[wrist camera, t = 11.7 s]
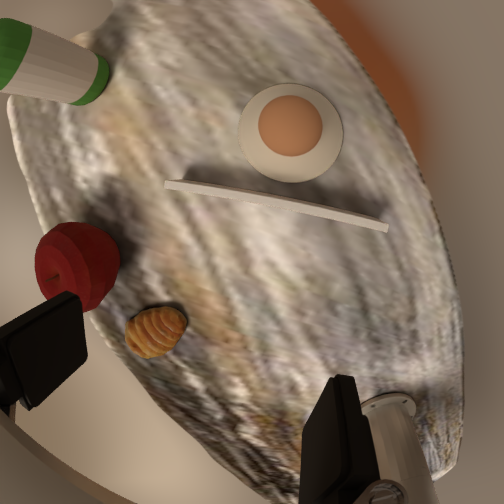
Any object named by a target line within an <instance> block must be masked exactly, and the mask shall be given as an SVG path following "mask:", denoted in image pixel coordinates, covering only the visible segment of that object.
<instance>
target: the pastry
mask: <svg viewBox="0 0 504 504" xmlns="http://www.w3.org/2000/svg"><path fill="white" fill-rule="evenodd" d="M186 324H187V320H186V318H185V317H184V316H183V314H182V313H181V312H180V311H178V310H177V309H175V308H173V307H167V306H164V307H160V308H153V309H148V310H145V311H141V312H140V313H139V314H138V315H137V316H135V317H134V318H133V319H131V320H129V321H127V322H126V324H125V340H126V342H127V344H128V346H129V347H130V349H131V350H132V351H133V352H134V353H136V354H138V355H139V356H140V357H143V358H147V359H149V358H151V357H155V356H161V355H164V354H165V353H166V352H168V351H170V350H171V349H172V348H173V347H174V346H175V345H176V343H177V342H178V340H179V339H180V337H181V336H182V335H183V333H184V331H185V328H186Z"/></svg>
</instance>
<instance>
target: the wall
mask: <svg viewBox="0 0 504 504" xmlns="http://www.w3.org/2000/svg"><path fill="white" fill-rule="evenodd" d="M164 188H166V189H173V190H179V191H186V192H192V193H199V194H205V195H211V196H217V197H223V198H228V199H234V200H240V201H245V202H251V203H256V204H261V205H266V206H272V207H277V208H282V209H287V210H291V211H296V212H301V213H306V214H310V215H315V216H320V217H324V218H329V219H333V220H337V221H342V222H346V223H350V224H354V225H359V226H363V227H367V228H371V229H375V230H379V231H383V232H387V231H388V227H389V224H387V223H385V222H383V221H381V220H379V219H377V218H375V217H371V216H367V215H363V214H359V213H355V212H351V211H347V210H343V209H339V208H334V207H330V206H326V205H321V204H317V203H312V202H307V201H303V200H298V199H293V198H288V197H283V196H278V195H273V194H268V193H263V192H257V191H252V190H246V189H240V188H235V187H229V186H223V185H216V184H210V183H204V182H197V181H190V180H183V179H179V180H165V185H164Z"/></svg>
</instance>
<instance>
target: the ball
mask: <svg viewBox="0 0 504 504" xmlns="http://www.w3.org/2000/svg"><path fill="white" fill-rule="evenodd" d="M322 129H323V124H322V119H321V116H320V114H319V112H318V110H317V109H316V107H315V106H314V105H313V104H312V103H310V102H309V101H308V100H306V99H304V98H302V97H299V96H294V95H285V96H280V97H277V98H275V99H273V100H271V101H270V102H269V103H268V104H266V106H265V107H264V108H263V110H262V111H261V113H260V116H259V120H258V130H259V134H260V136H261V139H262V140H263V142H264V143H265V145H266V146H267V147H268V148H269V149H271V150H272V151H274V152H275V153H277V154H280V155H283V156H289V157H294V156H300V155H303V154H305V153H307V152H309V151H310V150H312V149H313V148H314V147H315V146H316V145H317V143H318V142H319V140H320V138H321V135H322Z"/></svg>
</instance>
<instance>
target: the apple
mask: <svg viewBox="0 0 504 504" xmlns="http://www.w3.org/2000/svg"><path fill="white" fill-rule="evenodd" d="M119 267H120V253H119V250H118V247H117V245H116V243H115V241H114V240H113V239H112V238H111V236H110V235H109V234H108V233H106V232H104V231H103V230H101V229H99V228H97V227H94V226H92V225H90V224H87V223H80V222H66V223H60V224H58V225H57V226H55V227H54V228H53V229H51V230H50V231H49V232H48V233H47V234H45V235H44V236H43V237H42V238H41V240H40V242H39V244H38V246H37V249H36V253H35V272H36V278H37V282H38V284H39V287H40V290H41V292H42V294H43V295H44V296H45V298H46V299H47V300H49V299H51V298H53V297H54V296H56V295H58V294H60V293H62V292H64V291H66V290H67V291H70V292H72V293H74V294H76V295H78V296H79V297H80V301H81V302H82V307H83V313H84V312H87V311H90V310H92V309H95V308H97V306H98V305H99V304H100V302H101V301H102V300H103V298H104V297H105V296H106V295H107V293H108V292H109V291H110V290H111V289H112V287H113V286H114V283H115V280H116V277H117V274H118V270H119Z"/></svg>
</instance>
